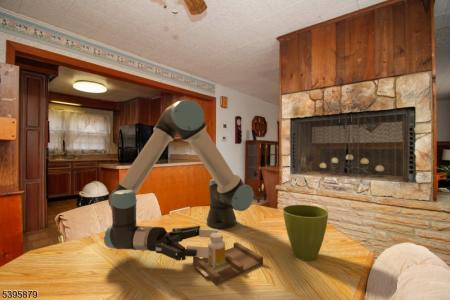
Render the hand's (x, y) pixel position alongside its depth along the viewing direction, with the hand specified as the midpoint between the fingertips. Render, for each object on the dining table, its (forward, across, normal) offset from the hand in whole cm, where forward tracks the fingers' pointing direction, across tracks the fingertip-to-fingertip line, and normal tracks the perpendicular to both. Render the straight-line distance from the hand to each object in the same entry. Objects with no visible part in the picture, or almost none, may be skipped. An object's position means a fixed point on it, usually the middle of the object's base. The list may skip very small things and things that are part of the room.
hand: (213, 242), depth 68 cm
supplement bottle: (+1, 0, -8) cm, 8 cm away
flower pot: (+30, -12, -9) cm, 34 cm away
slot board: (+4, -3, -8) cm, 10 cm away
